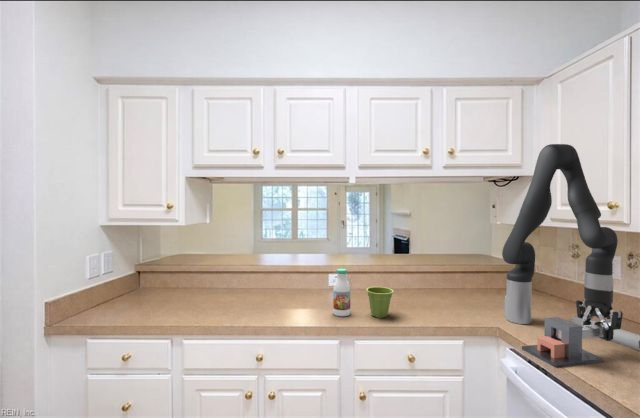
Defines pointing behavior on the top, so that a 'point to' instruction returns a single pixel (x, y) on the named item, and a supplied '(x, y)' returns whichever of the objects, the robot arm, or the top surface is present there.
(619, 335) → the tube
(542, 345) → the block
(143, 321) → the top surface
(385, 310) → the plant pot
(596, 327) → the shaft
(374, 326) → the top surface
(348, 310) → the milk bottle
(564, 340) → the bearing block
